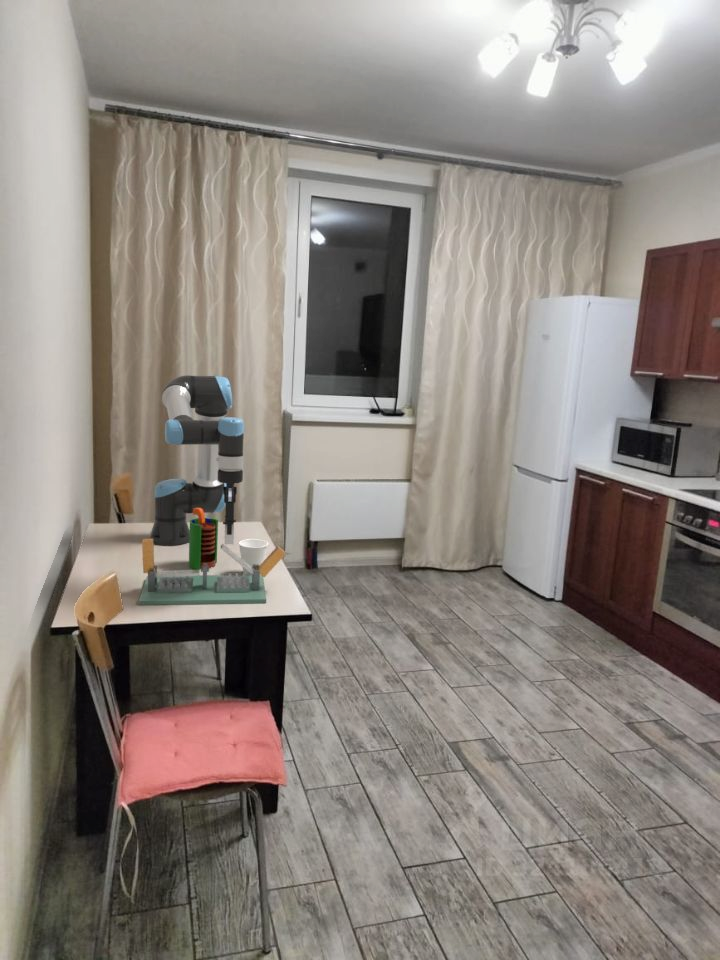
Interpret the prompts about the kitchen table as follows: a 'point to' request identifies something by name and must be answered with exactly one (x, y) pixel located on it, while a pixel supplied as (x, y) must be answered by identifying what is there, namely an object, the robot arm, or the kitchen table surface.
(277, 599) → the kitchen table surface
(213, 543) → the motor
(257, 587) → the set of grey blocks
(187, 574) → the strap
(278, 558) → the strap
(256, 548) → the cup
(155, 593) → the board
